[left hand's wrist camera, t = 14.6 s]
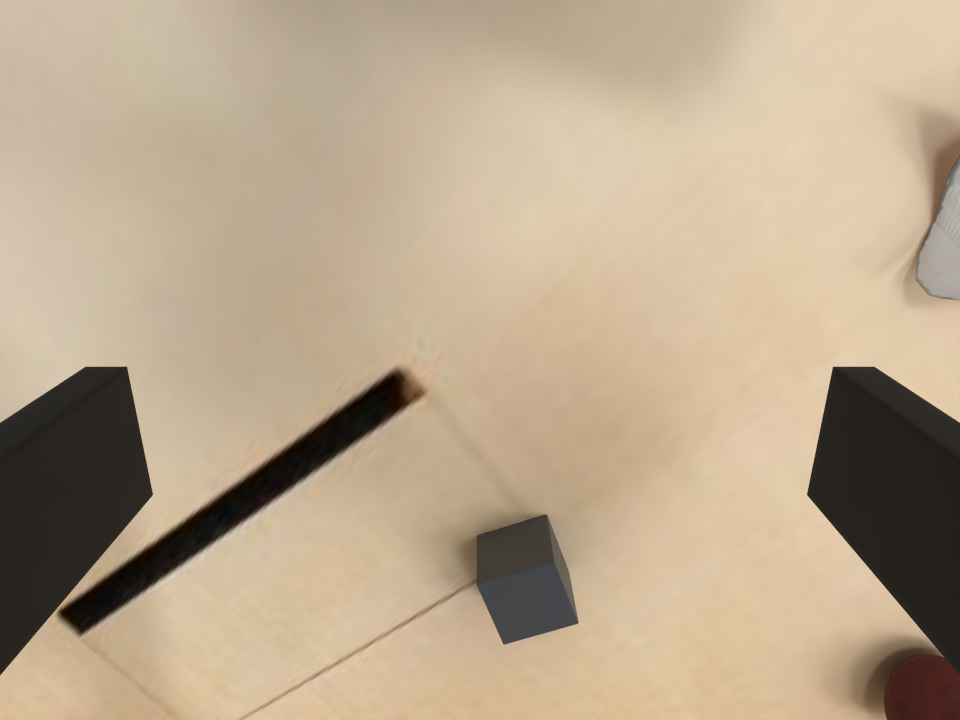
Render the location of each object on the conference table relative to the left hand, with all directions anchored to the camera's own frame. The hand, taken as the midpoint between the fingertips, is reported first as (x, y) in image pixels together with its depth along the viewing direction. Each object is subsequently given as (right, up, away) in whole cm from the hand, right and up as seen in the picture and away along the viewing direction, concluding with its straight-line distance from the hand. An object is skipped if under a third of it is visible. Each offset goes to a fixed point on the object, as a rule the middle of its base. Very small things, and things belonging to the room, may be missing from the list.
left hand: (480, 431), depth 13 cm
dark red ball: (+32, -22, +37) cm, 54 cm away
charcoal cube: (+3, -12, +33) cm, 35 cm away
